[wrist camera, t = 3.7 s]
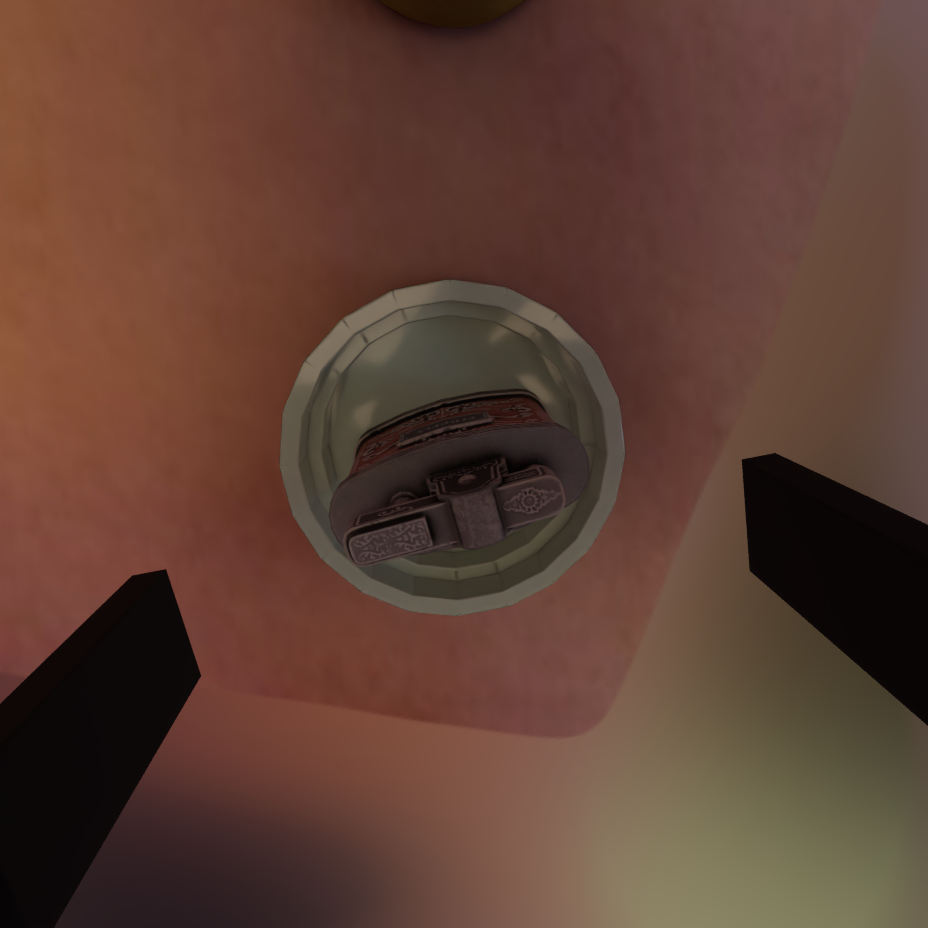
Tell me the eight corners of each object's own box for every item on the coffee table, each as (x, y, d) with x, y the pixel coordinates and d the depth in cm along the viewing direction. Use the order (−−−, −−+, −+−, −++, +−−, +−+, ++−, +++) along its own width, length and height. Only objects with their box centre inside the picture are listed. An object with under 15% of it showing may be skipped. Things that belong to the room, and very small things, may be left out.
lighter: (536, 372, 26) (598, 422, 17) (555, 451, 27) (624, 541, 18) (344, 425, 27) (296, 505, 17) (369, 501, 27) (337, 618, 18)
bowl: (576, 255, 26) (602, 250, 22) (613, 543, 29) (641, 582, 25) (267, 313, 26) (238, 318, 22) (339, 594, 29) (325, 642, 25)
